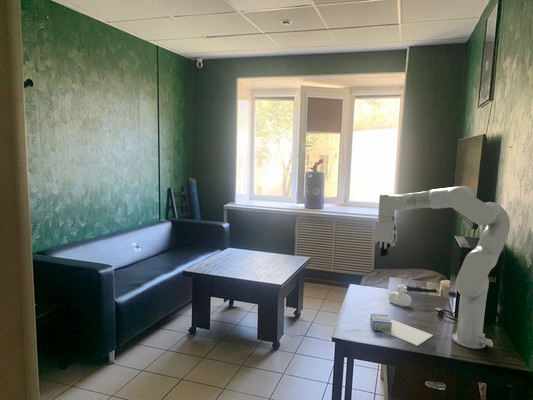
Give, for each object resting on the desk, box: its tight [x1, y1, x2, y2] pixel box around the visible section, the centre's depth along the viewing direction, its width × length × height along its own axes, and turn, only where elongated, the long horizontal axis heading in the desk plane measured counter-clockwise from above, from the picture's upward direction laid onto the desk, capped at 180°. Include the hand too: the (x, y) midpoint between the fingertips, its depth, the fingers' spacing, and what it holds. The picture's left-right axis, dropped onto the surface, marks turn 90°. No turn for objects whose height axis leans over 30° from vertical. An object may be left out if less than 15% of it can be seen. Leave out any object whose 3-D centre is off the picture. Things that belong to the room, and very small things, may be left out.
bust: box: [388, 284, 412, 307], centre depth 200 cm, size 12×8×11 cm
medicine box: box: [369, 313, 392, 332], centre depth 170 cm, size 8×4×9 cm
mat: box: [381, 319, 434, 347], centre depth 167 cm, size 20×14×1 cm
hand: (383, 255), depth 184 cm, fingers closed
